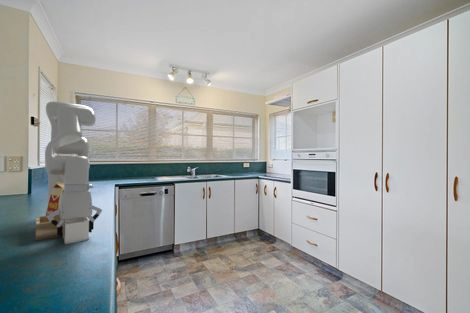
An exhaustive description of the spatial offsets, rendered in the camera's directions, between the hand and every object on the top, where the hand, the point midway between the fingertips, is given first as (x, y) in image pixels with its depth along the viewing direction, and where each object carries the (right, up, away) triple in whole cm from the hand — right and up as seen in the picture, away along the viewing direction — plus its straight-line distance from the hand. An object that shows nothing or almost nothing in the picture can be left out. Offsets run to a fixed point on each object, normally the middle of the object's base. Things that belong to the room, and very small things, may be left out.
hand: (75, 234), depth 84 cm
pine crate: (-12, -2, +8) cm, 14 cm away
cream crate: (0, -2, 0) cm, 2 cm away
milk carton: (-21, -2, +20) cm, 29 cm away
